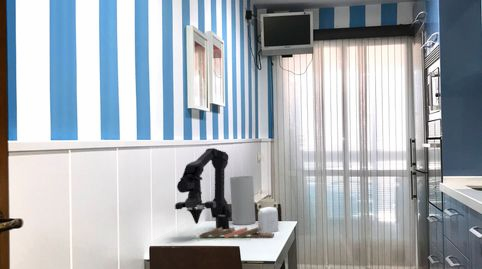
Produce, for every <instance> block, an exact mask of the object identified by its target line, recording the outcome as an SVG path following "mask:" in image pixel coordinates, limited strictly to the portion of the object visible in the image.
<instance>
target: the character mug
mask: <svg viewBox="0 0 482 269" xmlns="http://www.w3.org/2000/svg"><path fill="white" fill-rule="evenodd" d="M265 207H274V208H276V209H277V210H278V208H279V205H278V202H275V200H274V199H273V198H264V199H260V203H257V204H256V209H257V210H258V211H259V210H260V209H262V208H265Z"/></svg>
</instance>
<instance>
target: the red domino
mask: <svg viewBox="0 0 482 269" xmlns="http://www.w3.org/2000/svg"><path fill="white" fill-rule="evenodd" d="M246 231H248V228H247V227H246V226H245V227H241V228H239V229H235V231H233V232H232V233H229V234H225V235H224V237H225V238H228V237H231V236H235V235H238V234H242V233H245V232H246Z"/></svg>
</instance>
